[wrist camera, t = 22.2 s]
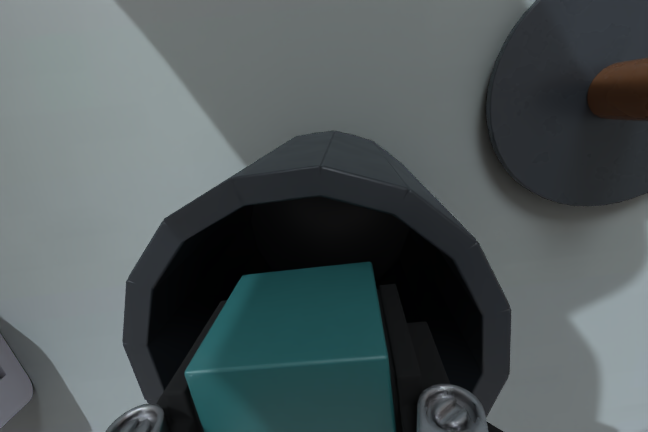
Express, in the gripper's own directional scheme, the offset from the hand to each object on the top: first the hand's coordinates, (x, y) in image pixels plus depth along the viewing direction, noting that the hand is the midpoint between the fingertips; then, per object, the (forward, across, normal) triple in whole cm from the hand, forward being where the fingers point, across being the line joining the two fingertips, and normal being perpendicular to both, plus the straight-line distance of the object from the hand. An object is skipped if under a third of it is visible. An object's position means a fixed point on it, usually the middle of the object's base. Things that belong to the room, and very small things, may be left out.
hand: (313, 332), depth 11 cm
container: (+11, 0, 0) cm, 11 cm away
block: (+1, 0, 0) cm, 1 cm away
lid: (+11, -16, -6) cm, 20 cm away
